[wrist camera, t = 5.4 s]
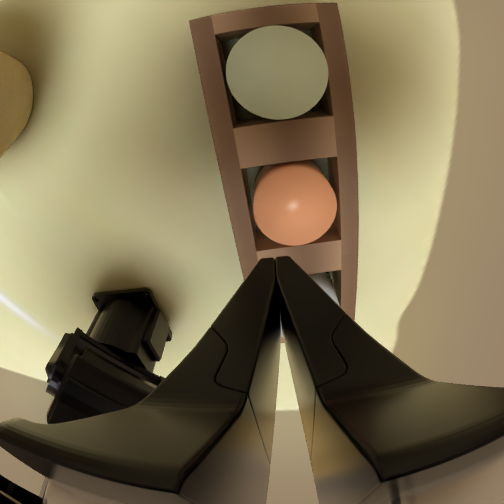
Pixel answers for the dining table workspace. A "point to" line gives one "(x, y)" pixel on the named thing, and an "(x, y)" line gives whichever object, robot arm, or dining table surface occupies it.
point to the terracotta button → (293, 202)
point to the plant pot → (13, 100)
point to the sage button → (277, 72)
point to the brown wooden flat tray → (286, 141)
